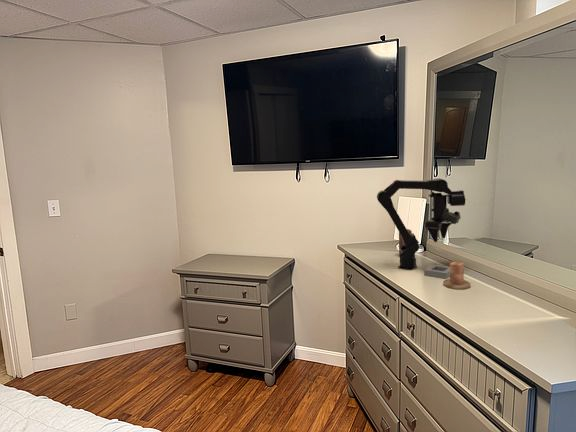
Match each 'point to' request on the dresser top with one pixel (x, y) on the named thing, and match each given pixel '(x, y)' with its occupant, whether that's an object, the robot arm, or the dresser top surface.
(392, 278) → the dresser top surface
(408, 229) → the can
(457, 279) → the block
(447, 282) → the pad
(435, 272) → the collar
